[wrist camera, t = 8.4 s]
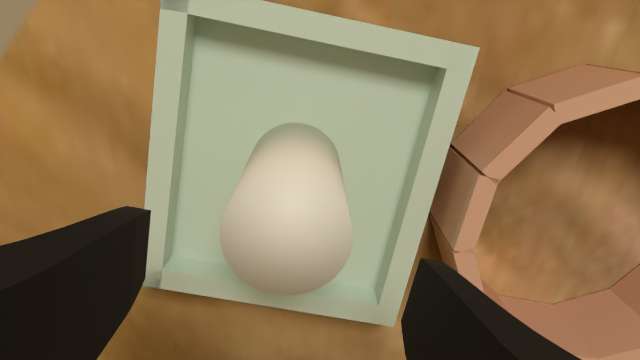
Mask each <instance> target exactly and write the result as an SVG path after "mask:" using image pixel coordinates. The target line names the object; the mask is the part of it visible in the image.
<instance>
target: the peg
mask: <svg viewBox="0 0 640 360" xmlns="http://www.w3.org/2000/svg"><path fill="white" fill-rule="evenodd" d="M220 244H221V249H222V252H223V254H224V257H225V259H226V261H227V263H228V265H229V266H230V267H231V269H232V270H233V271H234V272H235V273H236V274H237V275H238V277H240V278H241V279H242V280H243V281H245V282H246V283H248V284H249V285H251V286H252V287H254V288H256V289H259V290H261V291H264V292H267V293H271V294H276V295H299V294H304V293H308V292H311V291H314V290H316V289H318V288H320V287H322V286H324V285H326V284H327V283H329V282H330V281H331V280H332V279H334V278H335V277H336V276H337V275H338V274H339V272H340V271H341V270H342V269H343V267H344V266H345V264H346V262H347V260H348V258H349V256H350V253H351V249H352V244H353V230H352V223H351V218H350V212H349V207H348V202H347V196H346V191H345V185H344V180H343V175H342V169H341V164H340V159H339V155H338V151H337V149H336V147H335V145H334V143H333V142H332V141H331V139H330V138H329V137H328V136H327V135H326V134H325V133H324V132H322V131H321V130H319V129H318V128H316V127H314V126H311V125H308V124H304V123H285V124H281V125H278V126H276V127H274V128H272V129H270V130H269V131H267V132H266V133H265V134H264V135H263V136H262V137H261V138H260V139H259V140H258V142H257V143H256V145H255V147H254V149H253V151H252V153H251V156H250V158H249V160H248V162H247V164H246V166H245V169H244V171H243V173H242V175H241V177H240V179H239V182H238V184H237V186H236V188H235V190H234V192H233V194H232V197H231V199H230V201H229V203H228V205H227V207H226V210H225V212H224V214H223V217H222V220H221V225H220Z"/></svg>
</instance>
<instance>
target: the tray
mask: <svg viewBox="0 0 640 360" xmlns="http://www.w3.org/2000/svg"><path fill="white" fill-rule="evenodd" d="M479 49H480V48H479V47H474V46H469V45H465V44H460V43H456V42H451V41H446V40H442V39H437V38H433V37H428V36H423V35H419V34H414V33H409V32H405V31H400V30H396V29H391V28H386V27H382V26H377V25H373V24H368V23H363V22H359V21H354V20H349V19H345V18H340V17H336V16H331V15H326V14H322V13H317V12H313V11H308V10H303V9H299V8H294V7H289V6H285V5H280V4H276V3H271V2H266V1H262V0H161V5H160V18H159V30H158V43H157V55H156V68H155V81H154V93H153V106H152V118H151V131H150V143H149V156H148V169H147V181H146V194H145V206H144V209H146V210H151V217H150V229H149V240H148V252H147V264H146V276H145V280H144V282H143V284H142V286H147V287H153V288H159V289H165V290H171V291H177V292H183V293H190V294H196V295H202V296H208V297H214V298H220V299H226V300H232V301H238V302H244V303H250V304H257V305H263V306H269V307H275V308H281V309H287V310H293V311H299V312H305V313H311V314H317V315H324V316H330V317H336V318H342V319H348V320H354V321H360V322H366V323H372V324H378V325H384V326H390V327H394V324H395V321H396V318H397V315H398V311H399V308H400V305H401V302H402V298H403V295H404V292H405V289H406V285H407V282H408V279H409V276H410V272H411V269H412V266H413V263H414V259H415V256H416V253H417V250H418V246H419V243H420V240H421V237H422V234H423V230H424V227H425V224H426V221H427V217H428V214H429V211H430V208H431V204H432V201H433V198H434V195H435V191H436V188H437V185H438V182H439V178H440V175H441V172H442V169H443V165H444V162H445V159H446V156H447V152H448V149H449V146H450V143H451V139H452V136H453V133H454V130H455V126H456V123H457V120H458V117H459V113H460V110H461V107H462V104H463V100H464V97H465V94H466V91H467V87H468V84H469V81H470V78H471V74H472V71H473V68H474V65H475V61H476V58H477V55H478V52H479ZM285 123H304V124H308V125H311V126H314V127H316V128H318V129H319V130H321V131H322V132H324V133H325V134H326V135H327V136H328V137H329V138H330V139H331V141H332V142H333V143H334V145H335V147H336V149H337V151H338V155H339V159H340V164H341V169H342V175H343V180H344V185H345V191H346V196H347V202H348V207H349V212H350V218H351V223H352V230H353V244H352V249H351V253H350V256H349V258H348V260H347V262H346V264H345V266H344V267H343V269H342V270H341V271H340V272H339V274H338V275H337V276H336V277H335V278H334V279H332V280H331V281H330V282H329V283H327V284H326V285H324V286H322V287H320V288H318V289H316V290H314V291H311V292H308V293H304V294H299V295H276V294H271V293H267V292H264V291H261V290H259V289H256V288H254V287H252V286H251V285H249V284H248V283H246V282H245V281H243V280H242V279H241V278H240V277H238V275H237V274H236V273H235V272H234V271H233V270H232V269H231V267H230V266H229V265H228V263H227V261H226V259H225V257H224V254H223V252H222V249H221V244H220V225H221V220H222V217H223V214H224V212H225V210H226V207H227V205H228V203H229V201H230V199H231V197H232V194H233V192H234V190H235V188H236V186H237V184H238V182H239V179H240V177H241V175H242V173H243V171H244V169H245V166H246V164H247V162H248V160H249V158H250V156H251V153H252V151H253V149H254V147H255V145H256V143H257V142H258V140H259V139H260V138H261V137H262V136H263V135H264V134H265V133H266V132H267V131H269V130H270V129H272V128H274V127H276V126H278V125H281V124H285Z"/></svg>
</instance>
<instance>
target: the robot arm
mask: <svg viewBox="0 0 640 360" xmlns="http://www.w3.org/2000/svg"><path fill="white" fill-rule="evenodd" d="M150 217H151V210H146V209H141V208H135V207H129V206H126V207H121V208H117V209H114V210H111V211H108V212H105V213H102V214H100V215H97V216H94V217H91V218H88V219H86V220H83V221H80V222H77V223H74V224H71V225H69V226H66V227H63V228H60V229H56V230H53V231H50V232H47V233H44V234H40V235H37V236H34V237H31V238H28V239H24V240H21V241H17V242H13V243H9V244H5V245H2V246H0V360H97V358H98V357H99V355H100V354H101V352H102V351H103V349H104V348H105V346H106V345H107V343H108V342H109V341H110V339H111V338H112V336H113V335H114V333H115V332H116V330H117V329H118V327H119V326H120V324H121V323H122V321H123V320H124V318H125V317H126V315H127V314H128V312H129V311H130V309H131V307H132V305H133V303H134V301H135V299H136V297H137V295H138V293H139V291H140V289H141V287H142V284H143V282H144V280H145V276H146V264H147V252H148V240H149V229H150ZM401 325H402V334H403V342H404V349H405V355H406V359H407V360H582V359H580V358H578V357H576V356H575V355H573V354H571V353H569V352H568V351H566V350H564V349H563V348H561V347H559V346H558V345H556V344H555V343H553V342H551V341H550V340H548V339H547V338H545V337H543V336H542V335H540V334H539V333H537V332H536V331H534V330H533V329H531V328H530V327H528V326H527V325H526V324H524V323H523V322H521V321H520V320H519V319H517V318H516V317H514V316H513V315H512V314H510V313H509V312H508V311H506V310H505V309H504V308H502V307H501V306H500V305H498V304H497V303H496V302H495V301H493V300H492V299H491V298H489V297H488V296H487V295H486V294H484V293H483V292H482V291H481V290H479V289H478V288H477V287H476V286H474V285H473V284H472V283H471V282H469V281H468V280H467V279H466V278H464V277H463V276H462V275H461V274H459V273H458V272H457V271H455V270H454V269H453V268H451V267H450V266H448V265H447V264H445V263H443V262H439V261H433V260H428V259H422V258H421V259H420V262H419V265H418V269H417V272H416V275H415V278H414V281H413V285H412V288H411V291H410V294H409V297H408V301H407V304H406V307H405V310H404V313H403V317H402V320H401Z"/></svg>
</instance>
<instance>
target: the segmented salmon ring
mask: <svg viewBox="0 0 640 360" xmlns="http://www.w3.org/2000/svg"><path fill="white" fill-rule="evenodd" d="M508 91H509V92H508ZM508 91H505V90H504V91H503V92H502V93H501V94H500V95H499V96H498V97H497V98H496V99H495V100H494V101H493V102H492V103H491V104H490V105H489V106H488V107H487V108H486V109H485V110H484V111H483V112H482V113H481V114H480V115H479V116H478V117H477V118H476V119H475V120H474V121H473V122H472V123H471V124H470V125H469V126H468V127H467V128H466V129H465V130H464V131H463V132H462V133H461V134H460V135H459V136H458V137H457V138H456V139H455V140H454V141H453V142H452V143H451V144H452V145H453V146H454V147H455V148H452V147H449V149H448V152H447V156H446V159H445V162H444V165H443V169H442V172H441V175H440V178H439V182H438V185H437V188H436V191H435V195H434V198H433V201H432V204H431V208H430V212H431V213H429V214H430V218H431V222H432V225H433V229H434V233H435V236H436V240H437V243H438V247H439V251H440V254H441V258H442V261H443V263H445V264H447V265H448V266H450V267H451V268H453V269H454V270H455V271H457V272H458V273H459V274H461V275H462V276H463V277H464V278H466V279H467V280H468V281H469V282H471V283H472V284H473V285H474V286H476V287H477V288H478V289H479V290H481V291H482V292H483V293H484V294H486V295H487V296H488V297H489V298H491V299H492V300H493V301H495V302H496V303H497V304H498V305H500V306H501V307H502V308H504V309H505V310H506V311H508V312H509V313H510V314H512V315H513V316H514V317H516V318H517V319H519V320H520V321H521V322H523V323H524V324H526V325H527V326H528V327H530V328H531V329H533V330H534V331H536V332H537V333H539V334H540V335H542V336H543V337H545V338H547V339H548V340H550V341H551V342H553V343H555V344H556V345H558V346H559V347H561V348H563V349H564V350H566V351H568V352H569V353H571V354H573V355H575V356H576V357H578V358H580V359H582V360H640V265H639V266H637V267H636V268H635V269H634V270H632V271H631V272H630V273H629V274H627V275H626V276H625V277H624V278H622V279H621V280H620V281H618V282H617V283H616V284H615V285H613V286H612V287H611V288H610V289H607V290H603V291H600V292H596V293H592V294H589V295H585V296H581V297H578V298H574V299H571V300H567V301H563V302H560V303H556V304H553V305H551V304H546V303H540V302H534V301H528V300H522V299H517V298H511V297H505V296H499V295H497V294H496V293H495V292H494V291H493V290H491V289H490V288H489V287H488V286H487V285H486V284H484V283H483V282H482V281H481V278H480V274H479V269H478V265H477V261H476V257H475V253H474V250H475V247H476V244H477V241H478V238H479V236H480V233H481V230H482V227H483V224H484V222H485V219H486V216H487V213H488V210H489V207H490V205H491V202H492V199H493V196H494V193H495V191H496V188H497V185H498V182H499V181H500V180H501V179H503V178H504V177H505V176H506V175H507V174H508V173H509V172H510V171H511V170H512V169H513V168H514V167H515V166H517V165H518V164H519V163H520V162H521V161H522V160H523V159H524V158H525V157H526V156H527V155H528V154H529V153H530V152H532V151H533V150H534V149H535V148H536V147H537V146H538V145H539V144H540V143H541V142H542V141H543V140H544V139H545V138H547V137H548V136H549V135H550V134H551V133H552V132H553V131H554V130H555V129H556V128H557V127H558V126H559V125H560V124H563V123H566V122H569V121H572V120H576V119H579V118H582V117H585V116H588V115H592V114H595V113H598V112H601V111H604V110H607V109H611V108H614V107H617V106H620V105H623V104H626V103H630V102H633V101H636V100H639V99H640V72H633V71H627V70H621V69H614V68H608V67H602V66H595V65H589V64H585V65H584V64H581V65H577V66H574V67H571V68H568V69H565V70H562V71H559V72H556V73H553V74H550V75H547V76H544V77H541V78H538V79H535V80H532V81H528V82H525V83H522V84H519V85H516V86H513V87H510V88H508Z"/></svg>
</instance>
